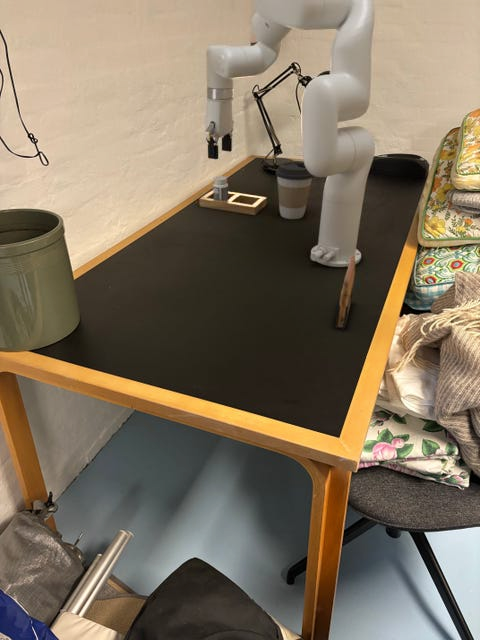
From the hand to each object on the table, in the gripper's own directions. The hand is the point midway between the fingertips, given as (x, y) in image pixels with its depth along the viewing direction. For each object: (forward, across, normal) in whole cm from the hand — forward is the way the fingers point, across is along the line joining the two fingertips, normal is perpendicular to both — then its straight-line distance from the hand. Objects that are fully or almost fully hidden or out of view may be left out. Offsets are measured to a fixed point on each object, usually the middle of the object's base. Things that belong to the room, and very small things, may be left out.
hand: (220, 154), depth 153 cm
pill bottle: (+16, 0, 0) cm, 16 cm away
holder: (+15, 0, +5) cm, 16 cm away
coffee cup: (+15, 0, +24) cm, 29 cm away
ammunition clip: (+14, +51, +52) cm, 75 cm away
